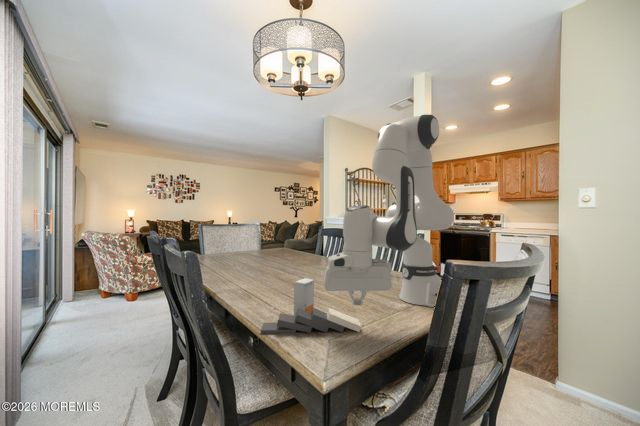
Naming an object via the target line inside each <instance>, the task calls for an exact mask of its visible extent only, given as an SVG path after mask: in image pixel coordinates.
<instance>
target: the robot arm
mask: <svg viewBox="0 0 640 426" xmlns="http://www.w3.org/2000/svg"><path fill="white" fill-rule="evenodd" d="M439 135H440V125H439V121H438V119H437V117H435V115H433V114H422V115H418V116H417V115H416V116H410V117H405V118H403V119H399V120H397V121H395V122H390V123H386V124H385V125H383V126H381V127H380V129H379V131H378V134H377V141H376V144H375V148H374V152H373V157H372V161H371V162H372V164H371V166H372V172H373V174H374V175H375V176H376V177H377V178H378V179H379V180H380V181H382V182H384V183H387V184H389V185H390V184H391V185H393V186H394V187H395V191H396V192H395V193H396V198H395V199H396V203H395V204H391V205H390V206H389V207H388V208H387V210H386V212H385V216H381V215H380V216H379V215H378V214H376V213H375V212H373V211H372V209H371V205H365V204H362V205H360V204H359V205H353V206H349V207H348V208H346V209H345V212H344V215H343V223H342V236H343V246H342V252H338V253H336V254H332V255H329V256H328V259H327V261H328V265H327V266H326V267H325V270H324V277H323V288H324V289H325V291H327V292H347V293H348V294H349V296H350V298H351V305H352V306H363V301H364V299H365V298H366V295H367V292H368V291H371V292H378V291H379V292H380V291H384V292H385V291H390V290H391V289H392V284H393V283H392V276H391V272H392V263H391V261H389V260H387V259H386V258H381V259H380V258H373V246H374V247H379V248H385V249H390V250H394V251H398V252H402V253H403V254H402V256H403V258H402V259H403V262H402V266H401V270H402V271H401V273H402V281H401V283H402V284H401V288H400V291H399V296H398V298H399V299H400V300H401V301H403V302H406V303H409V304H413V305H418V306H419V305H420V306H424V307H425V306H427V307H430V308H435V307H434V306H435V302H436V298H437V294H438V290H439V287H440V283H441V281H440V280H441V279H442V278H441V277H440V276H439V275H437V272H441V271H442V267H441V266H438V265H433V263H434V262H433V261H434V260H433V252H434V251H433V245H432V244H431V243H430V242H429V241H427V240H426V239H425V238H422V237H420V236H419V235H418V231H433V232H435V231H441V230H448V229H450V227H451V226H452V225H453V223H454V221H455V213H454V210H453V209H452V207H451V206H450V205H449V204H448V203H446V202H444V201H443V200H442V199H441V197H439V195H438V193H437V192H436V190H435V189H436V188H435V186H434V178H433V177H434V175H433V155H432V150H431V148H432V146H433V145H434V144H435V143H436V142H437V140H438V139H439ZM415 196H416V197H417V199H418V200H419V201H418V202H415V201H416V200H415V199H416V197H415ZM355 292H360V293H361V294H360V295H359V297H354V294H355Z"/></svg>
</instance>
